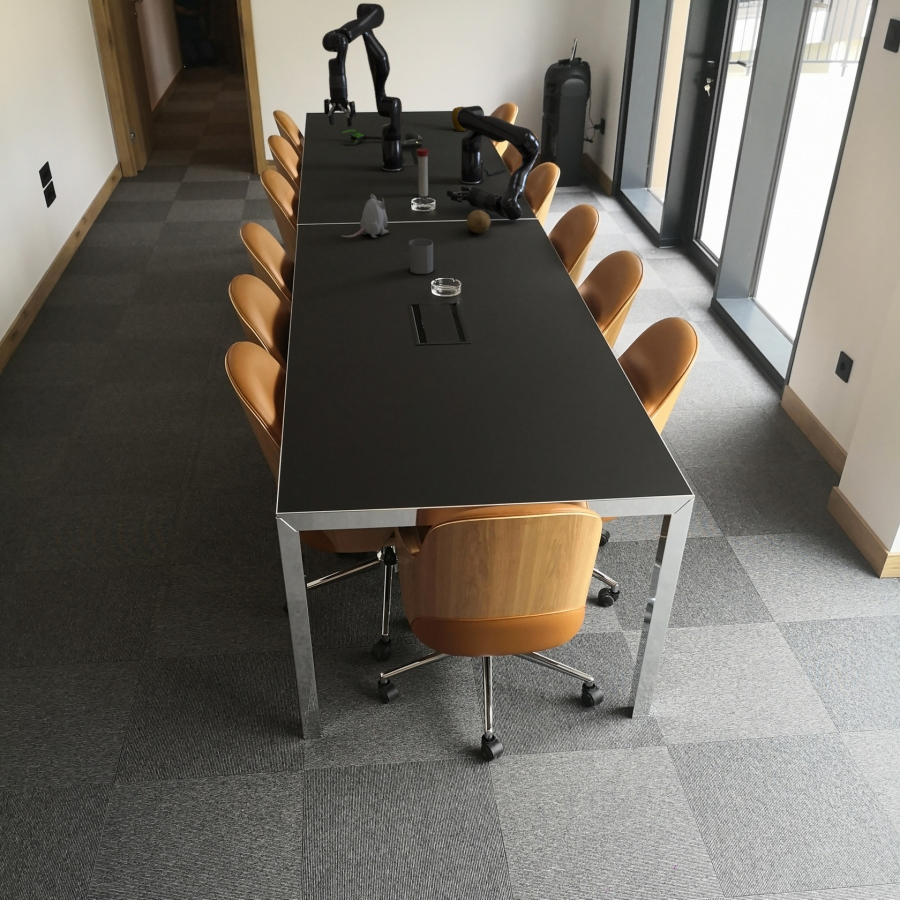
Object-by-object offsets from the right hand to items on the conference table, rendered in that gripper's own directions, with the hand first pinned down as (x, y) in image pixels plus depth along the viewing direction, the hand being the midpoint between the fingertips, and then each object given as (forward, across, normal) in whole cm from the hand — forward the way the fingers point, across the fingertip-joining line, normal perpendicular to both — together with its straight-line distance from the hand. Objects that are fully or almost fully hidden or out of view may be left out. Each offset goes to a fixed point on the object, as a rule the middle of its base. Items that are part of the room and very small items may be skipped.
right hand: (454, 191), depth 370 cm
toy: (-6, -55, -6) cm, 56 cm away
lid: (+20, 0, +13) cm, 24 cm away
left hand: (+47, -22, +22) cm, 57 cm away
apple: (+97, +101, -7) cm, 140 cm away
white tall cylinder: (+20, 0, -6) cm, 21 cm away
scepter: (+111, +45, -7) cm, 120 cm away
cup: (-47, -63, -6) cm, 78 cm away
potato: (-32, -19, -6) cm, 38 cm away
